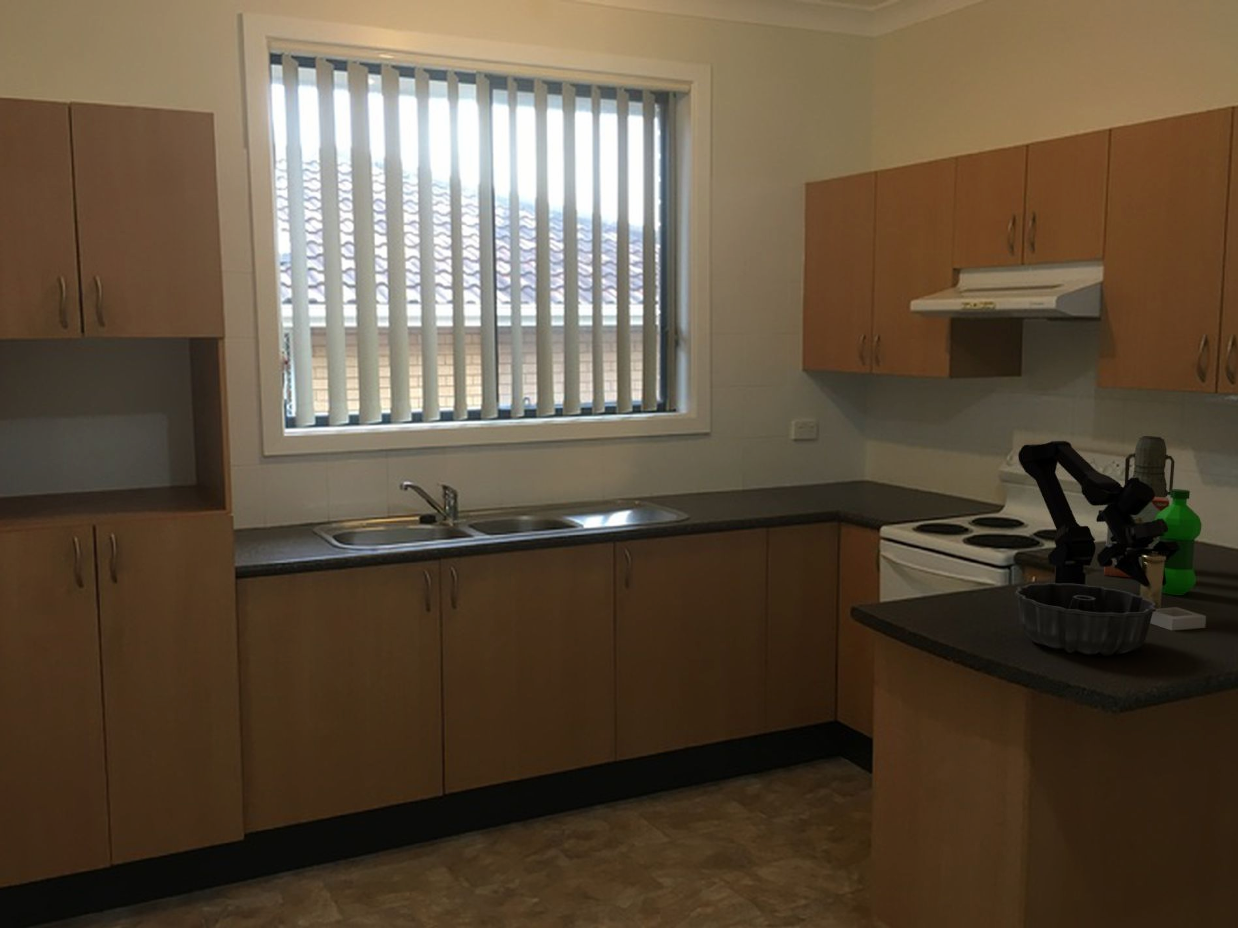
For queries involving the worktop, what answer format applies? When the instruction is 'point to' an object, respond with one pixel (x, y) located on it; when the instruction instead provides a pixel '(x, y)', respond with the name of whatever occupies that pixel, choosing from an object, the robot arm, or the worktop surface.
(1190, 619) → the frame
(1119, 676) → the worktop surface
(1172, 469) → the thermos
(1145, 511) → the cracker box
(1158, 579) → the gold cylinder
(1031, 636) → the bundt pan
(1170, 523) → the plastic bottle
